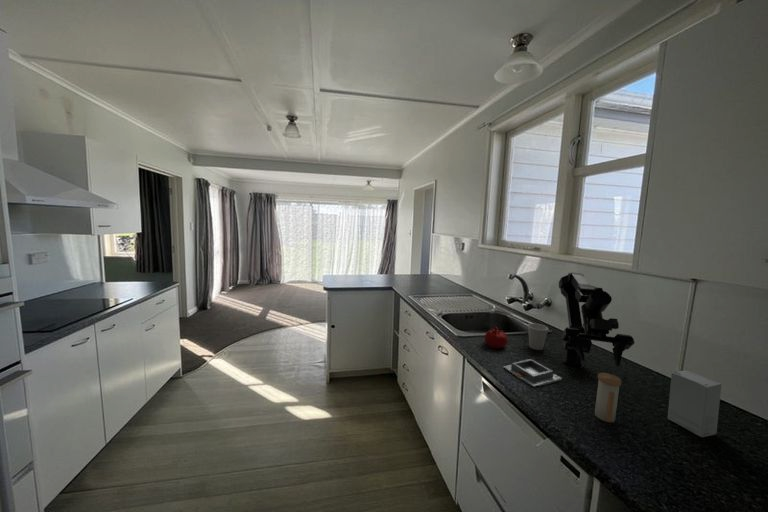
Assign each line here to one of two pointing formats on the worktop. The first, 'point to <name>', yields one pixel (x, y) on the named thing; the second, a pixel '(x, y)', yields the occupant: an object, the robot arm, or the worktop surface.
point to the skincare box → (694, 403)
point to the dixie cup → (537, 336)
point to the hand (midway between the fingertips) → (600, 363)
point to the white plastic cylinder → (607, 396)
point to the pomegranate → (496, 338)
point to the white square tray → (532, 372)
